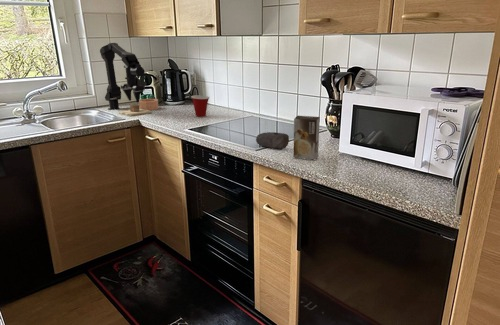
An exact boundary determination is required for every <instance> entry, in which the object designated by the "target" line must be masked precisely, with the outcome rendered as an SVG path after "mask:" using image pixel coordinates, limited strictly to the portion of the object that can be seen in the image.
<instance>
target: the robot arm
mask: <svg viewBox="0 0 500 325" xmlns="http://www.w3.org/2000/svg"><path fill="white" fill-rule="evenodd" d="M99 53H100V57H101V58H102V60H103V61H104V63H105V70H106V76H107V77H106V78H107V82H108V85H107V88H106V93H105V96H104V99H105V101H108V104H109V105H108V106H109V107H108V108H107V110H109V111H113V110H120V109H121V107H119V100H122V92H123V93H124V94H125V96H126V98H127V99H128V101H129V102H130V101H132V93H133V96H134V98H135V99H134V100H135V101H136V103H139V100H141V99H140V98H141V96H142V95H141V94H142V93H143V92H144V91H146V89H145V88H146V84H147V83H146V82H147V81H144V80H141V77H143V76H144V75H145V69H144V67H142V66H141V64H140V61H139V59H138V57H137V56H136V54H135V53H133V52H131V51H130V52H128V51H127V50H125V49H124V48H123V47H122V46H120V45H119V44H118V43H117V42H109V43H108V44H106V45H103V46H102V47H101V48H100V49H99ZM116 55H117V56H118V57H120V58H121V61H122V63H123V64H124V66H123V68H125V75H126V76H125V77H124V79H125V80H126V83H121V84H120V86H119V84H117V78H116V71H115V64H114V60H115V57H116ZM139 77H140V78H139ZM121 90H122V91H121Z"/></svg>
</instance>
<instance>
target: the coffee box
mask: <svg viewBox="0 0 500 325" xmlns="http://www.w3.org/2000/svg"><path fill="white" fill-rule="evenodd" d="M320 118H321V117H320V116H314V115H313V116H312V115H311V116H309V115H297V116H295V118H294V119H293V153H292V154H293V156H292V158H293V157H296V158H295V159H297V158H305V159H304V160H307V159H316V158H317V159H318V158H319V146H320V145H319V144H320V141H319V140H320V120H321V119H320ZM317 159H316V160H317Z"/></svg>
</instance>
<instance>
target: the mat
mask: <svg viewBox="0 0 500 325" xmlns="http://www.w3.org/2000/svg"><path fill="white" fill-rule="evenodd" d="M118 114H119V115H122V116H126V117H129V118H133V116H127V115H124V114H120V113H119V112H118ZM144 115H145V114H143V116H144ZM148 115H151V113H149V114H148ZM138 116H139V115H137V117H138Z"/></svg>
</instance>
